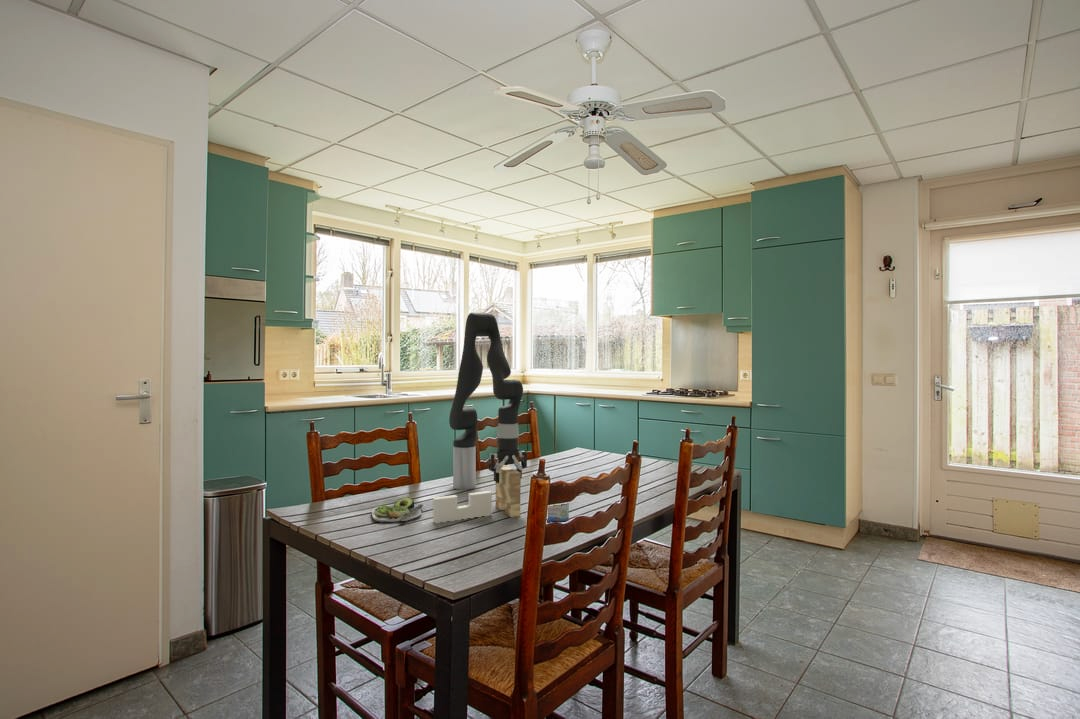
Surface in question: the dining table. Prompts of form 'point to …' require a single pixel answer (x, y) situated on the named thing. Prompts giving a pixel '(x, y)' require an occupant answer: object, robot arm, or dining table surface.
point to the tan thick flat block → (508, 491)
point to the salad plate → (398, 511)
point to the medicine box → (558, 513)
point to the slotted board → (462, 507)
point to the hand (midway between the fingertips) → (507, 481)
